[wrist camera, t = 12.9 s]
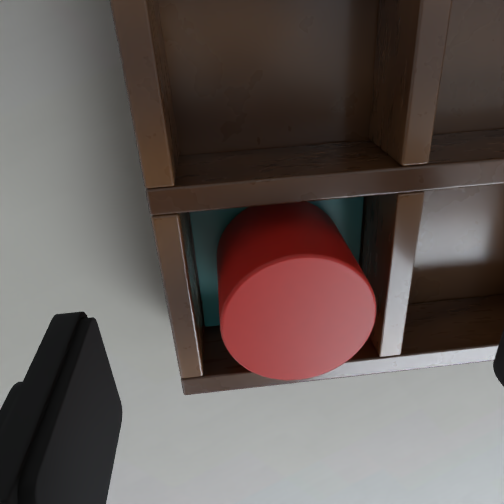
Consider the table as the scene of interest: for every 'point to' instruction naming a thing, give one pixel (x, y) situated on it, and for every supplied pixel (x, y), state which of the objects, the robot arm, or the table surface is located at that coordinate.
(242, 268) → the red cylinder
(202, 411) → the table surface
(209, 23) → the grid
